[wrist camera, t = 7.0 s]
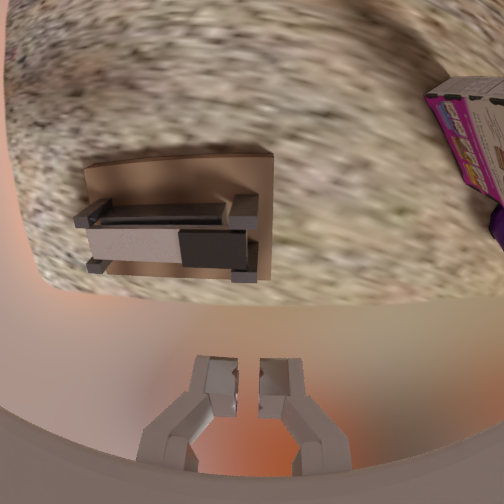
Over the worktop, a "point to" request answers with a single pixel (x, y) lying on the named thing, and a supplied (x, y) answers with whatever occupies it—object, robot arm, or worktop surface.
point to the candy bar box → (474, 129)
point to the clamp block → (178, 223)
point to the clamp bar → (171, 244)
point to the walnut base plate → (188, 198)
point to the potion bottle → (497, 225)
